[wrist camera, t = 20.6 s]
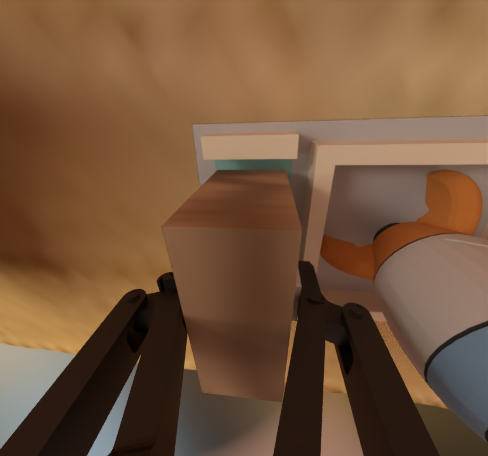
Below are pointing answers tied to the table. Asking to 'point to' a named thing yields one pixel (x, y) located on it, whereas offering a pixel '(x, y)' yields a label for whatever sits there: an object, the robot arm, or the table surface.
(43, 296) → the table surface
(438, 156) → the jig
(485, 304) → the toy rocket
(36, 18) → the table surface
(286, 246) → the wing block
